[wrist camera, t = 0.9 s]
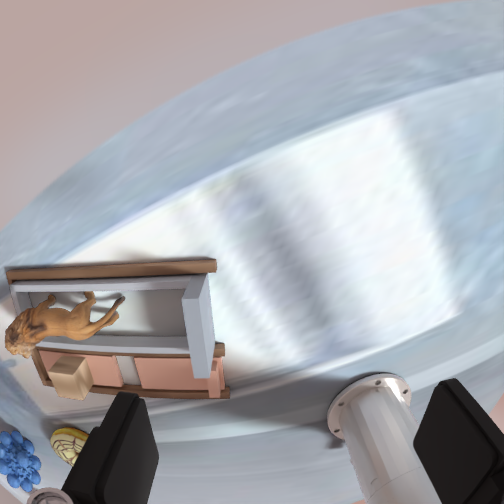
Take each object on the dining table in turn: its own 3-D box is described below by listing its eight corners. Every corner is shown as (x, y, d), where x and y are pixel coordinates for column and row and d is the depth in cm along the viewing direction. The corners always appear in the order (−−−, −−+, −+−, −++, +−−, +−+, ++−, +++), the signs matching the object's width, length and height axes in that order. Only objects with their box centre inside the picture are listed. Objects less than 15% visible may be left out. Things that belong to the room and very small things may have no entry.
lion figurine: (46, 334, 35) (11, 369, 26) (30, 298, 34) (-10, 328, 25) (134, 314, 34) (106, 356, 26) (117, 272, 33) (81, 305, 24)
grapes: (60, 458, 42) (39, 501, 31) (46, 462, 43) (25, 501, 32) (16, 416, 40) (-12, 457, 28) (5, 423, 41) (-22, 460, 29)
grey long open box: (215, 341, 35) (209, 378, 29) (36, 336, 35) (9, 362, 28) (207, 271, 33) (198, 298, 26) (19, 278, 33) (-13, 298, 26)
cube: (94, 382, 36) (83, 400, 32) (70, 379, 36) (58, 396, 32) (85, 357, 35) (72, 375, 31) (61, 355, 35) (47, 371, 31)
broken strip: (224, 384, 37) (223, 400, 34) (52, 374, 37) (43, 386, 34) (221, 353, 36) (219, 367, 33) (42, 346, 36) (31, 357, 33)
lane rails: (229, 392, 37) (229, 398, 36) (47, 380, 37) (43, 385, 36) (216, 259, 33) (215, 262, 32) (11, 269, 33) (5, 272, 31)
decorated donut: (86, 465, 43) (80, 479, 39) (46, 427, 40) (38, 441, 37) (122, 459, 42) (117, 475, 38) (79, 418, 39) (71, 433, 36)
